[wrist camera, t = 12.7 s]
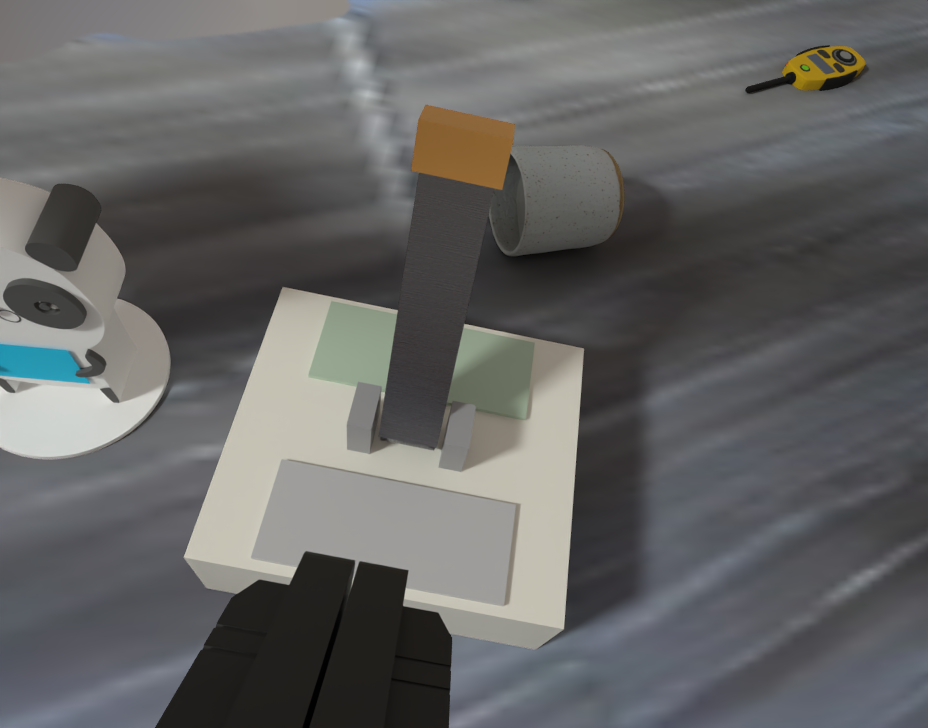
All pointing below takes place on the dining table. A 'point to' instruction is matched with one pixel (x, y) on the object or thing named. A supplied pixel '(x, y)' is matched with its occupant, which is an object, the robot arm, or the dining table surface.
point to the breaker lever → (440, 265)
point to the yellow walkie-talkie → (818, 69)
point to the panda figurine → (69, 329)
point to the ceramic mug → (556, 199)
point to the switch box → (401, 471)
